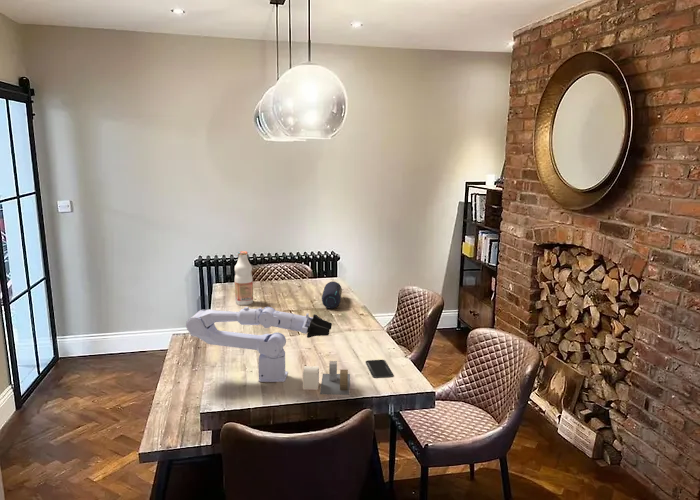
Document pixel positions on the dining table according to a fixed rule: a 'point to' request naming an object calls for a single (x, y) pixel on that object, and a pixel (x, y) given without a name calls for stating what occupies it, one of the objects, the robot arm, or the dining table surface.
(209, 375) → the dining table surface
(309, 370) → the beige block
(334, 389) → the base board
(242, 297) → the fruit juice
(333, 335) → the dining table surface
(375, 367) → the phone
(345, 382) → the bronze post
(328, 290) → the portable speaker
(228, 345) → the robot arm
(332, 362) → the steel post
